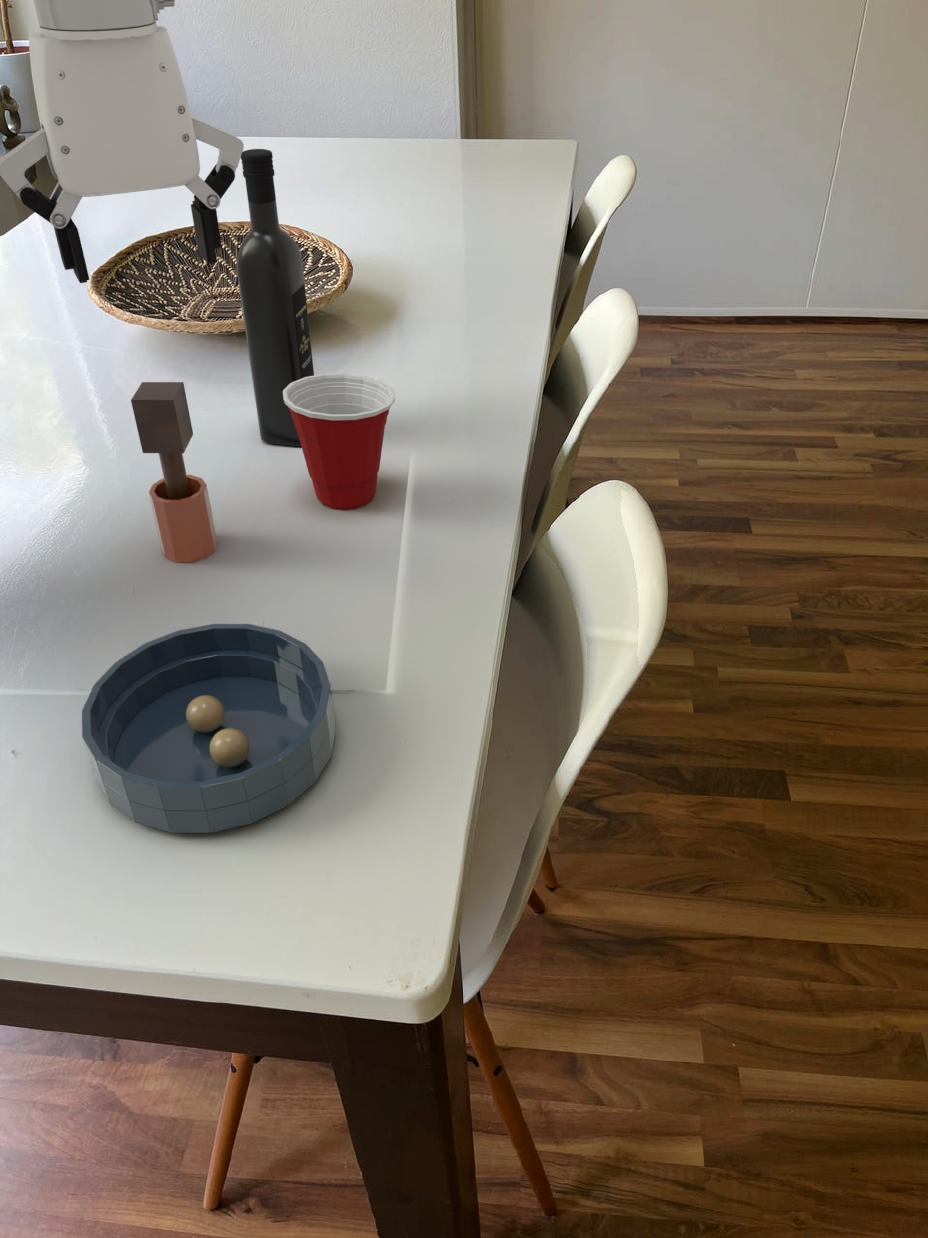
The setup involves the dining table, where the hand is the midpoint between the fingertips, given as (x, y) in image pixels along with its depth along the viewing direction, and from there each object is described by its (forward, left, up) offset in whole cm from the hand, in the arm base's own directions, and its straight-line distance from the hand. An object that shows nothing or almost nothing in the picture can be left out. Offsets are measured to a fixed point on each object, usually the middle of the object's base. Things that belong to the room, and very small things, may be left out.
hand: (146, 267), depth 76 cm
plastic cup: (+12, +12, -28) cm, 32 cm away
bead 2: (+8, -26, -25) cm, 37 cm away
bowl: (+6, -24, -27) cm, 37 cm away
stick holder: (-2, +2, -27) cm, 27 cm away
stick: (-2, +2, -27) cm, 27 cm away
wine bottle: (+4, +26, -28) cm, 38 cm away
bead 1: (+5, -23, -25) cm, 35 cm away
